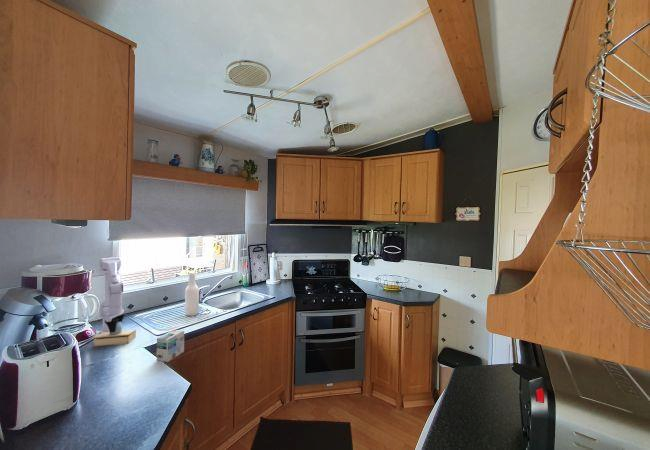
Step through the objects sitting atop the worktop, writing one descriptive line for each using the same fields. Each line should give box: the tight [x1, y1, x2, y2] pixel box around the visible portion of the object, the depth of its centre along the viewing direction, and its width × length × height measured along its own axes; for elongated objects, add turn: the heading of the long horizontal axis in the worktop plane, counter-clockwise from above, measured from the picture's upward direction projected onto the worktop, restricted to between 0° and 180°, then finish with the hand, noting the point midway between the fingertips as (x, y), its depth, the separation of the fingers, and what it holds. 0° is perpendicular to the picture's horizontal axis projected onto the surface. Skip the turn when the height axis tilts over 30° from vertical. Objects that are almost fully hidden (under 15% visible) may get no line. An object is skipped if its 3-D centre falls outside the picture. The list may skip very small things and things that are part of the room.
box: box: [92, 330, 137, 347], centre depth 139 cm, size 8×16×4 cm, turn 103°
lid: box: [93, 329, 137, 339], centre depth 139 cm, size 8×16×1 cm, turn 103°
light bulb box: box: [156, 329, 185, 363], centre depth 124 cm, size 11×7×11 cm, turn 168°
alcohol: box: [184, 271, 200, 317], centre depth 181 cm, size 9×9×30 cm
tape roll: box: [109, 321, 123, 335], centre depth 139 cm, size 5×5×5 cm
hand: (115, 329), depth 139 cm, fingers closed on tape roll, 5 cm apart
